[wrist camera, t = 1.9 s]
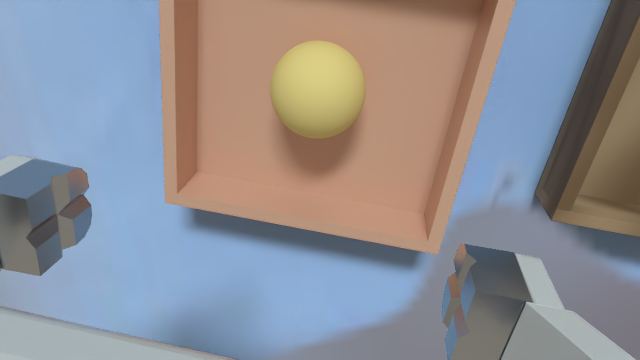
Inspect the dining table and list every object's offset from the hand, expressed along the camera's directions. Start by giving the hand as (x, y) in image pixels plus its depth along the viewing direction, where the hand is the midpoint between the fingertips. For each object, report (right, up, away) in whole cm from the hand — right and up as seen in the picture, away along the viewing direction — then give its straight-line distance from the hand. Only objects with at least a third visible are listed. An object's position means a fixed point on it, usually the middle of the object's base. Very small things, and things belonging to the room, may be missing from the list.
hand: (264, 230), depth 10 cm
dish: (+1, +6, +11) cm, 13 cm away
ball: (+1, +5, +9) cm, 10 cm away
